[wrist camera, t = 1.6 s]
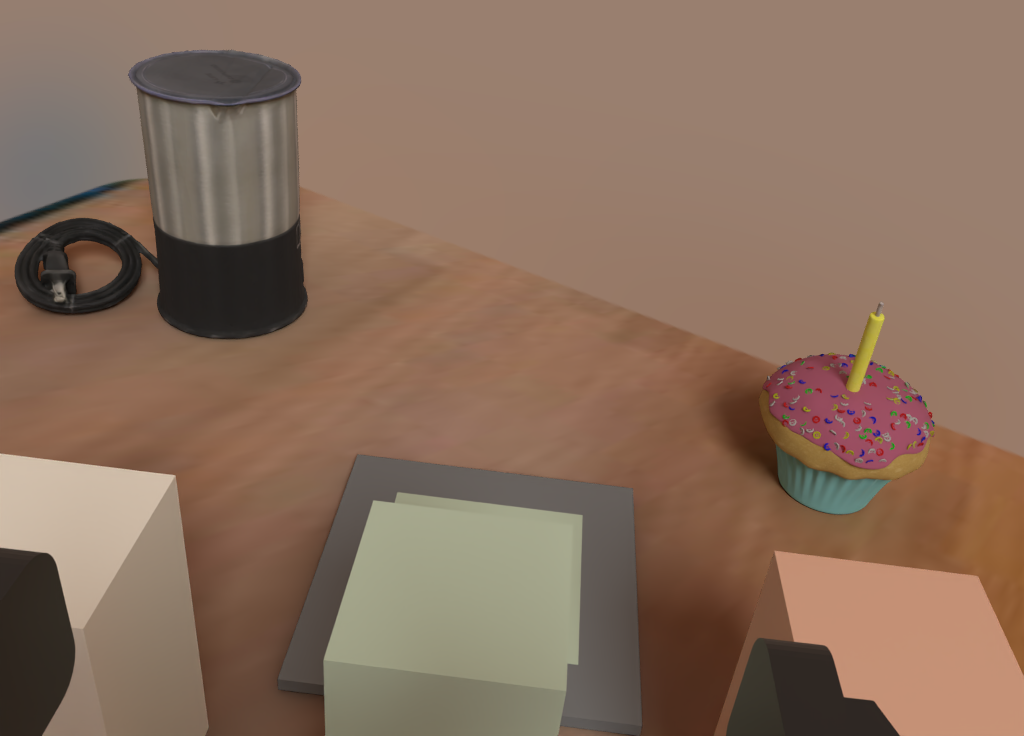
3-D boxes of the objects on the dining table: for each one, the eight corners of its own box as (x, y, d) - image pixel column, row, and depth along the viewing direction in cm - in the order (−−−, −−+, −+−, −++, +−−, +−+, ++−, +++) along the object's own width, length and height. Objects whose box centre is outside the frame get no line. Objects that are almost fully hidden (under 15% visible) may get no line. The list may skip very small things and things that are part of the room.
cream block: (142, 890, 30) (83, 629, 23) (-45, 865, 30) (-155, 598, 23) (208, 727, 35) (175, 475, 28) (48, 706, 35) (-21, 451, 29)
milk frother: (334, 319, 60) (331, 86, 52) (75, 390, 51) (24, 123, 43) (239, 233, 69) (224, 23, 61) (4, 281, 60) (-49, 43, 52)
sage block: (519, 940, 30) (566, 691, 23) (329, 915, 30) (323, 660, 23) (531, 769, 35) (573, 525, 28) (369, 748, 35) (373, 500, 28)
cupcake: (889, 563, 46) (978, 353, 39) (720, 499, 49) (777, 294, 42) (913, 468, 52) (992, 275, 46) (762, 417, 55) (817, 228, 49)
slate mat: (639, 735, 36) (642, 725, 36) (278, 689, 37) (277, 678, 36) (631, 497, 48) (633, 488, 48) (357, 463, 48) (357, 454, 48)
